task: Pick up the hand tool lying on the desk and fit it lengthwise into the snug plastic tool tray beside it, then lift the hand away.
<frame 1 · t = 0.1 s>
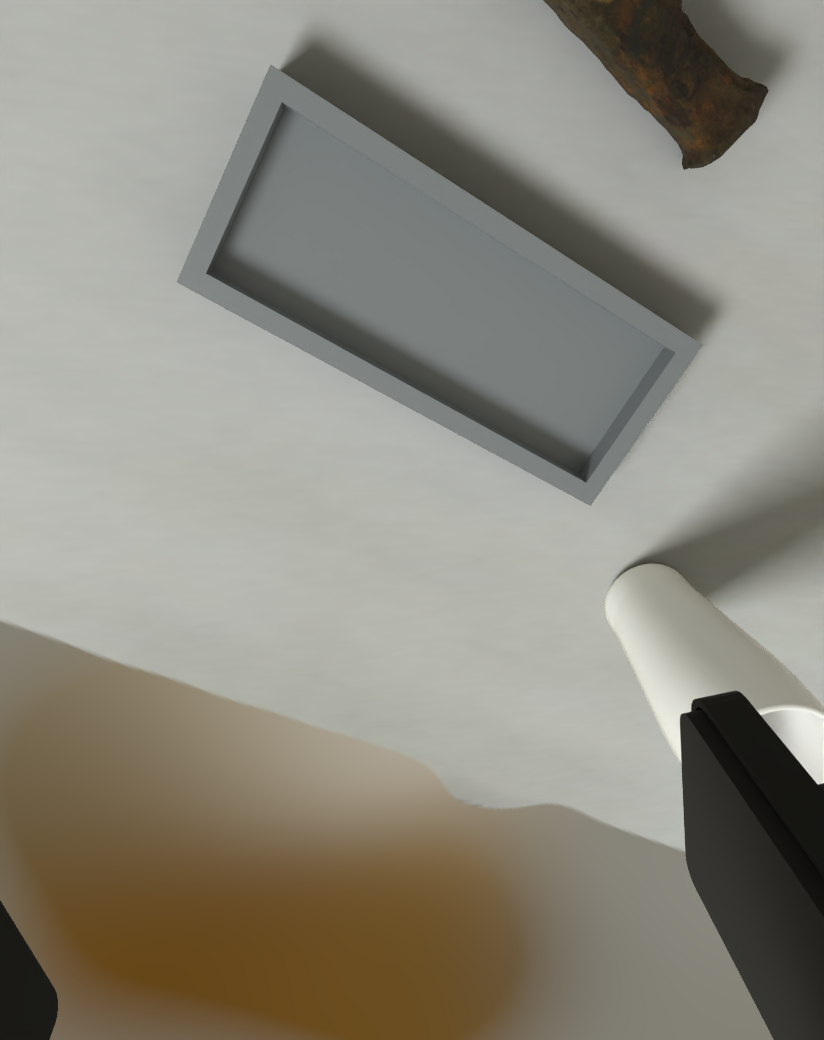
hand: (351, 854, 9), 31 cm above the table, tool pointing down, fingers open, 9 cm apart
white tumbler: (641, 595, 45), on the table
tool tray: (445, 308, 37), on the table
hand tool: (563, 7, 33), on the table
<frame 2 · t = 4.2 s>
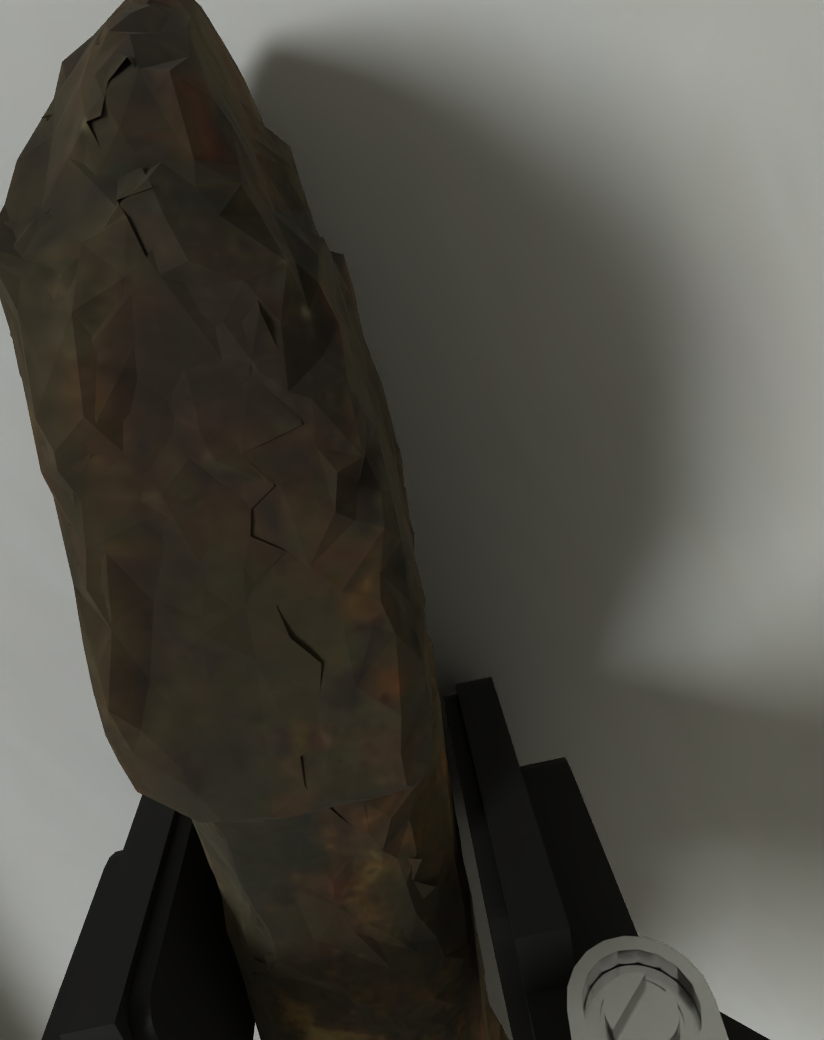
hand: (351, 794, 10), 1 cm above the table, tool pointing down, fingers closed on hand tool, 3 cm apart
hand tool: (321, 762, 11), on the table, touching gripper
when the fingers open (3 cm above the table, at t = 10.1 s): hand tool drops 1 cm, resting on tool tray.
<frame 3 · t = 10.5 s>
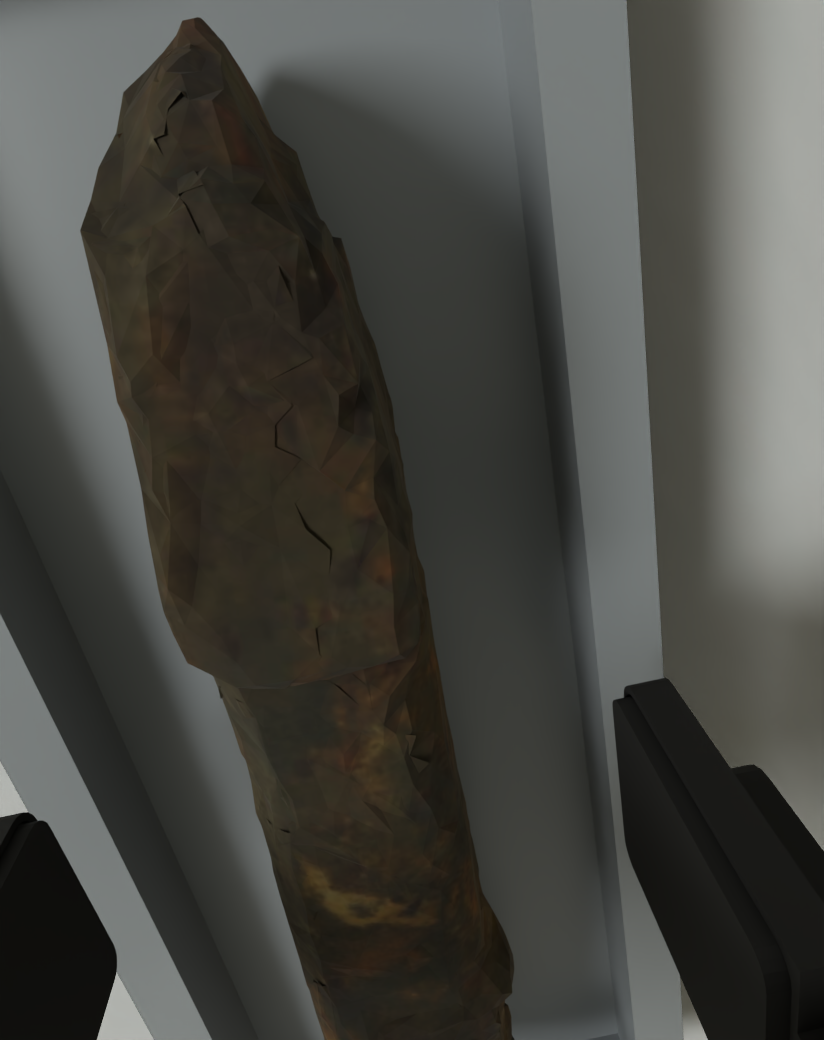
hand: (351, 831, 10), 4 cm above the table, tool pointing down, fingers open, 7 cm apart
tool tray: (349, 666, 13), on the table
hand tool: (332, 693, 13), point 1 cm above the table, touching tool tray
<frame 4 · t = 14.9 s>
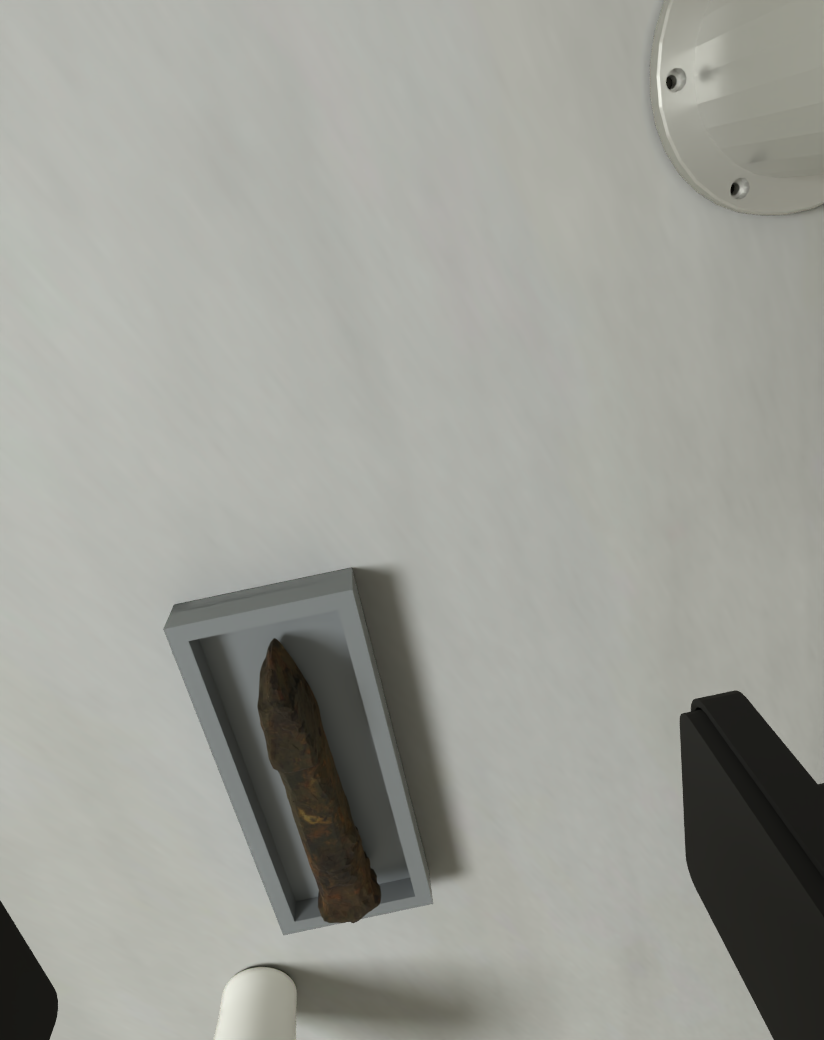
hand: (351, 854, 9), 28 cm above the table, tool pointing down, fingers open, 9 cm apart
white tumbler: (261, 984, 53), on the table
tool tray: (315, 752, 44), on the table
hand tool: (307, 763, 44), point 1 cm above the table, touching tool tray
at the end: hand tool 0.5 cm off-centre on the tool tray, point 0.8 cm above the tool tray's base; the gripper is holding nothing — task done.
